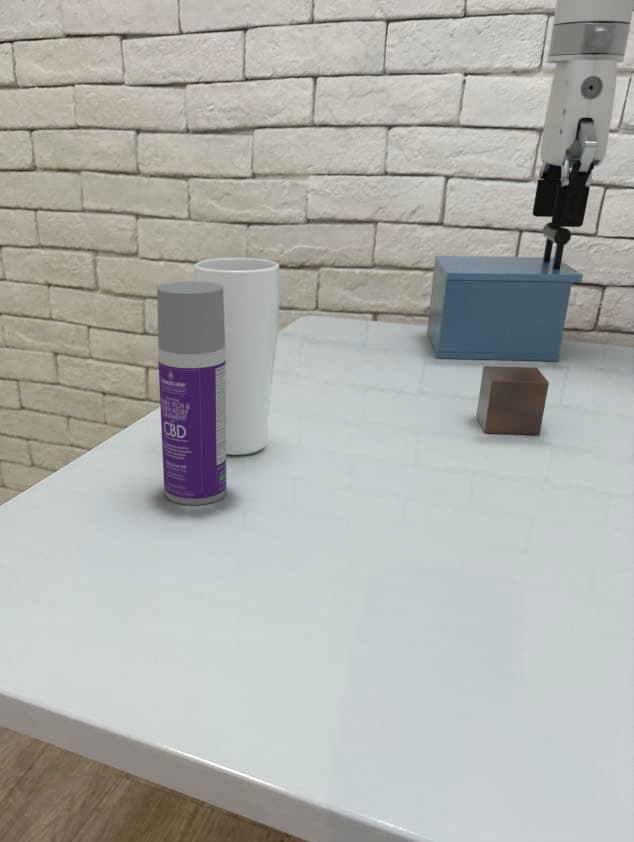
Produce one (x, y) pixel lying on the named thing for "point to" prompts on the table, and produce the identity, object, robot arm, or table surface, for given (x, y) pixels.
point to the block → (512, 400)
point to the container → (192, 391)
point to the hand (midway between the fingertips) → (555, 221)
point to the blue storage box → (497, 318)
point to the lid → (515, 264)
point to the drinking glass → (246, 344)
